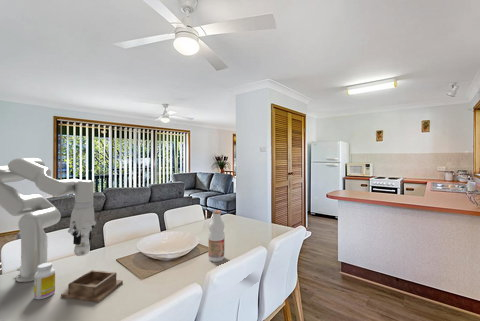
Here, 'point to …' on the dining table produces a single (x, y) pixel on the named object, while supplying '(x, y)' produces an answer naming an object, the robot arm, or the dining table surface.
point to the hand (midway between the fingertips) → (82, 241)
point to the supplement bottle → (44, 281)
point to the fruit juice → (216, 238)
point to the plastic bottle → (83, 241)
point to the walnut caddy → (92, 286)
